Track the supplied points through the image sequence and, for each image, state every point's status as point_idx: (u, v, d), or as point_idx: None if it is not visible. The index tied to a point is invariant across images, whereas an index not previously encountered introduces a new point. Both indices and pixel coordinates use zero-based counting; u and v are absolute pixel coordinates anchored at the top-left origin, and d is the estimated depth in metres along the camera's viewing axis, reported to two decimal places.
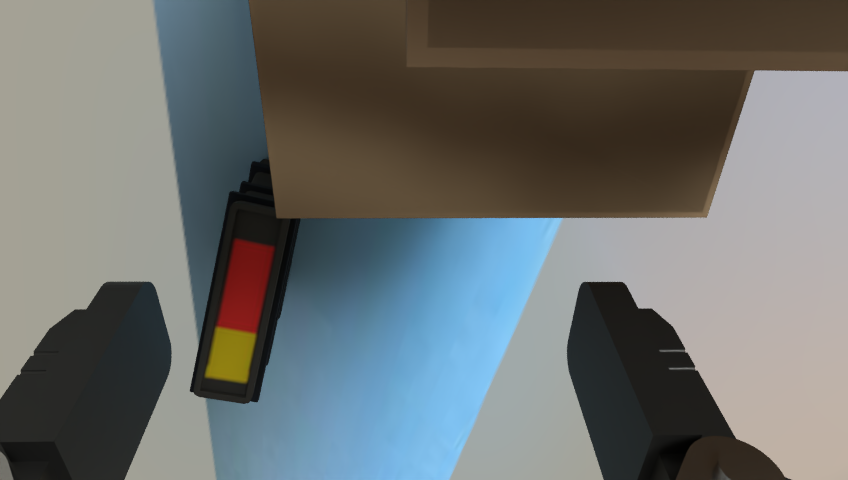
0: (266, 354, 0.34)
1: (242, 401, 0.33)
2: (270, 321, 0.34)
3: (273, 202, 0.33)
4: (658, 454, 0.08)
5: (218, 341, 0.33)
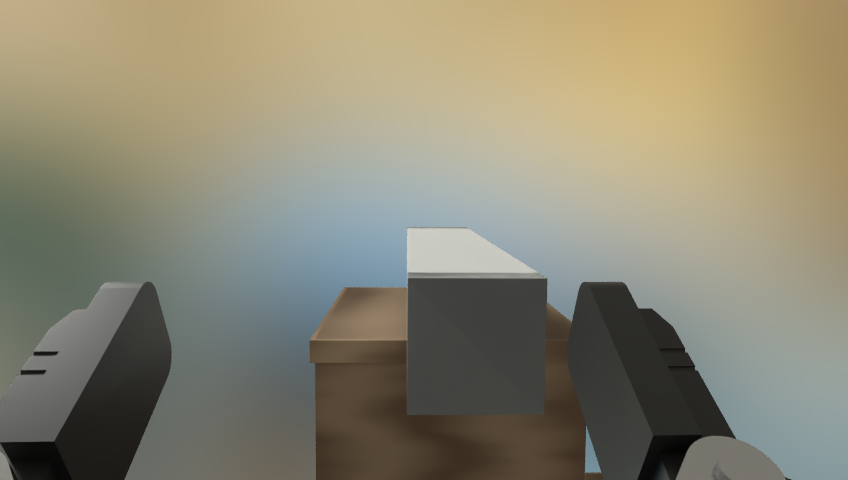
0: None
1: None
2: None
3: None
4: (658, 454, 0.08)
5: None
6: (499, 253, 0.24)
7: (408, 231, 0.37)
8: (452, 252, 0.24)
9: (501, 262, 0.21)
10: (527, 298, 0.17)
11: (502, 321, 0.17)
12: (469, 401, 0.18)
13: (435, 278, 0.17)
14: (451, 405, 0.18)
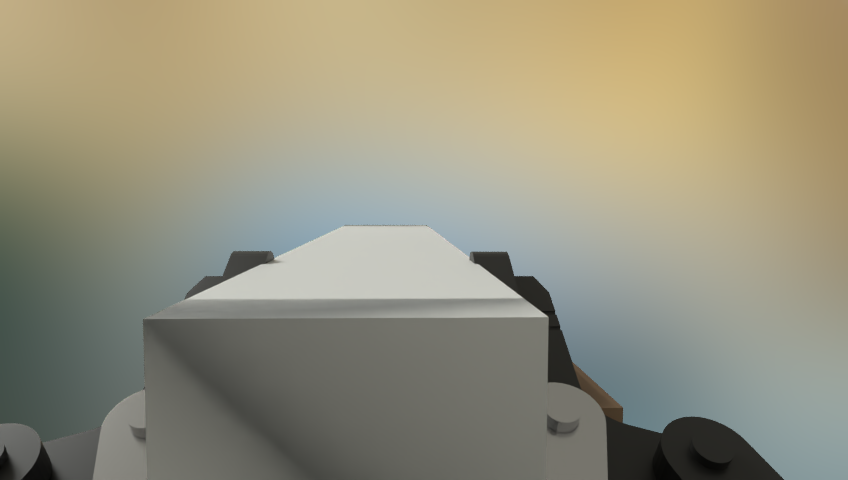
0: None
1: None
2: None
3: None
4: None
5: None
6: (452, 256, 0.13)
7: None
8: (365, 254, 0.13)
9: (445, 272, 0.10)
10: (492, 374, 0.06)
11: (422, 440, 0.06)
12: None
13: (227, 319, 0.06)
14: None
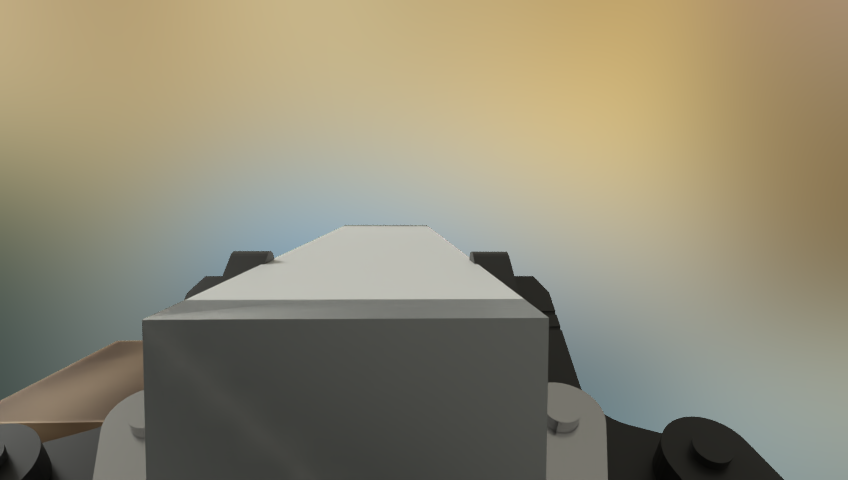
0: None
1: None
2: None
3: None
4: None
5: None
6: (452, 256, 0.13)
7: (338, 229, 0.26)
8: (365, 255, 0.13)
9: (445, 273, 0.10)
10: (492, 374, 0.06)
11: (422, 441, 0.06)
12: None
13: (226, 319, 0.06)
14: None
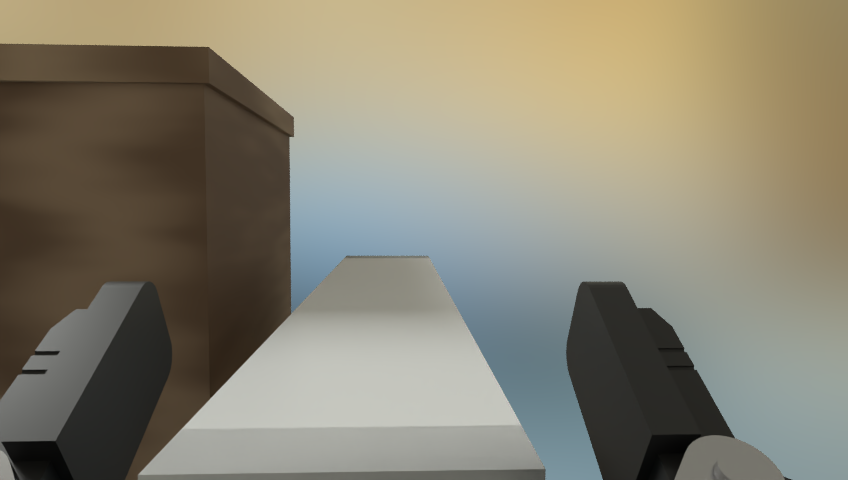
0: None
1: None
2: None
3: None
4: (657, 453, 0.08)
5: None
6: (452, 327, 0.13)
7: (339, 265, 0.26)
8: (365, 324, 0.13)
9: (444, 366, 0.10)
10: None
11: None
12: None
13: (222, 473, 0.06)
14: None
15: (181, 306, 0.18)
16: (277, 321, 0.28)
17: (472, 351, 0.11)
